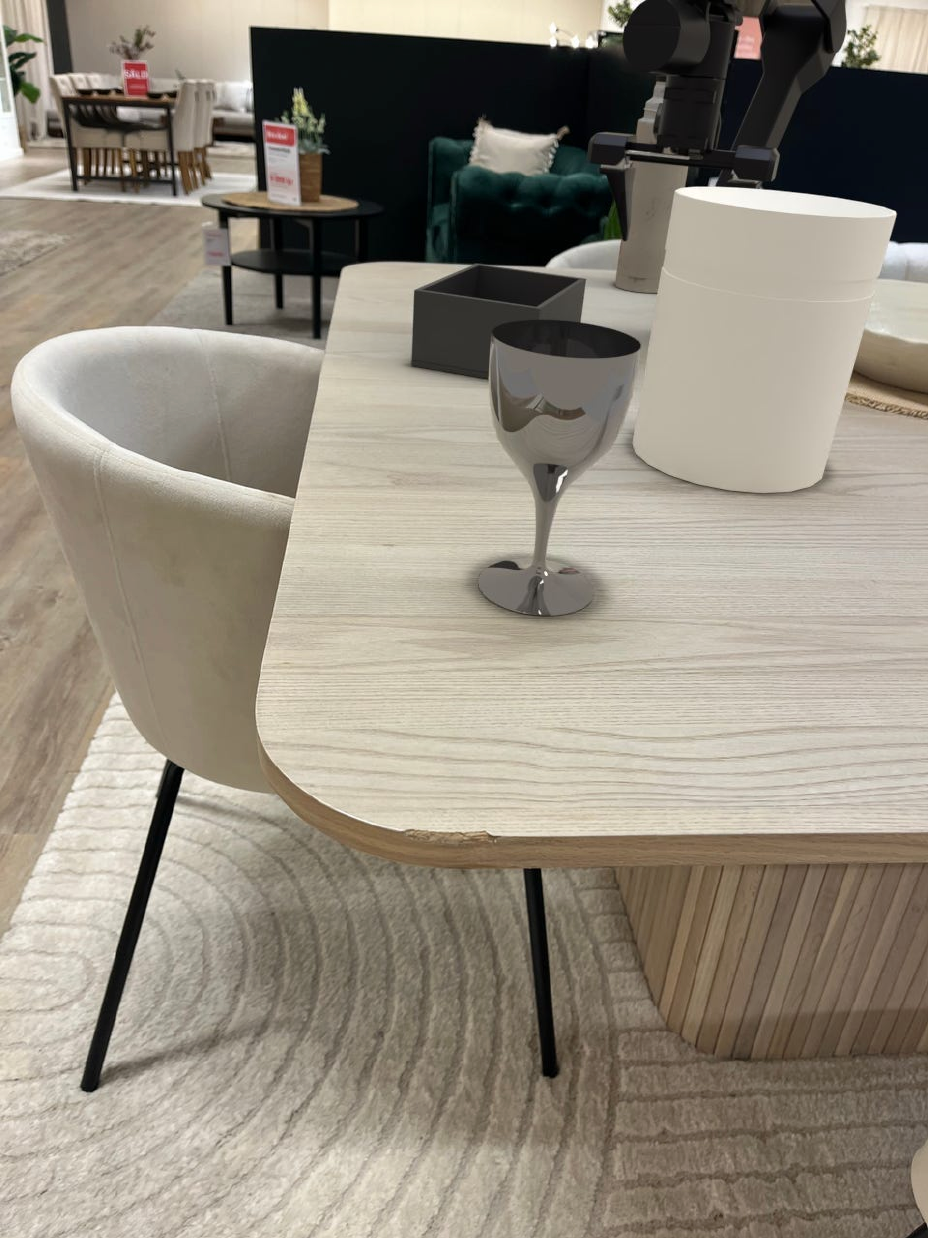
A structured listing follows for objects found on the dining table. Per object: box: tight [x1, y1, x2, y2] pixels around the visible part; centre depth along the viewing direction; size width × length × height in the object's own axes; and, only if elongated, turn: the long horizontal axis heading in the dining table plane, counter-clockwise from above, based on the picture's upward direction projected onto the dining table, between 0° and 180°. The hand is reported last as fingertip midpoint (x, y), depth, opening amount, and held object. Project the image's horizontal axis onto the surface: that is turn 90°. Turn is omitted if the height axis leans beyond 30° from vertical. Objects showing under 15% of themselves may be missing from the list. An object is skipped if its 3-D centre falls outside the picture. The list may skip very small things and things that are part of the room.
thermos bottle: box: [614, 74, 689, 294], centre depth 134 cm, size 8×8×28 cm
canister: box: [632, 186, 897, 494], centre depth 74 cm, size 16×16×20 cm
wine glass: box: [477, 320, 642, 617], centre depth 53 cm, size 8×8×15 cm
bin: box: [410, 263, 587, 380], centre depth 100 cm, size 18×13×8 cm
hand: (667, 246), depth 99 cm, fingers open, 9 cm apart
